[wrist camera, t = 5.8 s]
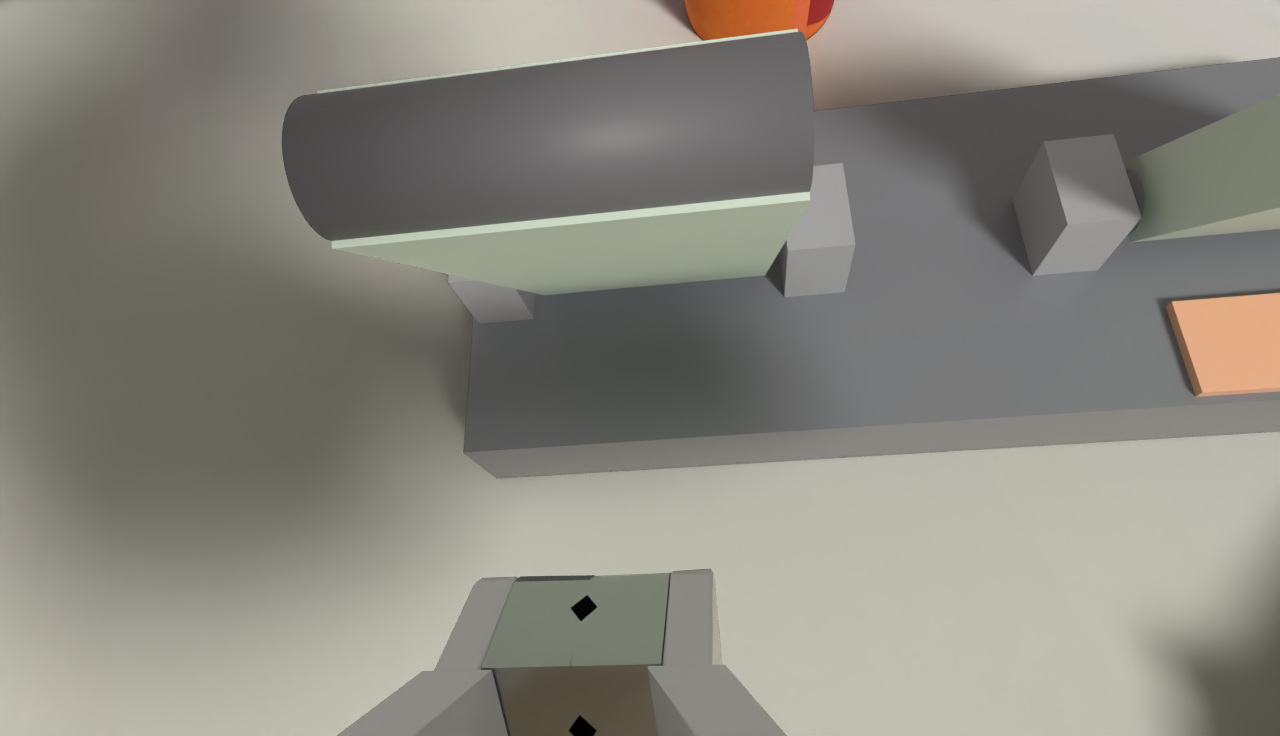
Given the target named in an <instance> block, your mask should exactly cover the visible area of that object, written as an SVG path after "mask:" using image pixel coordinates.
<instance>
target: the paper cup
mask: <svg viewBox="0 0 1280 736" xmlns="http://www.w3.org/2000/svg"><path fill="white" fill-rule="evenodd" d="M684 3H685V7H686V11H687V15H688V18H689V21H690V23H691V25H692V27H693V29H694V30H695V32H696V33H697V34H698V35H699V37H701V38H702V39H703V40H704V41H706V40H714V39H721V38H729V37H737V36H745V35H752V34H760V33H768V32H775V31H783V30H791V29H798V32H800V31H802V32H803V33H804V36H805V39H806V40H808V39H809V38H811V37H812V36H813V35H814V34H815V33H816V32H817V31H818V30H819V29H820V28H821V27H822V26H823V25H824V23H825V22H826V20H827V18H828V17H829V14H830V12H831V9H832V6H833V3H834V0H684Z"/></svg>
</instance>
